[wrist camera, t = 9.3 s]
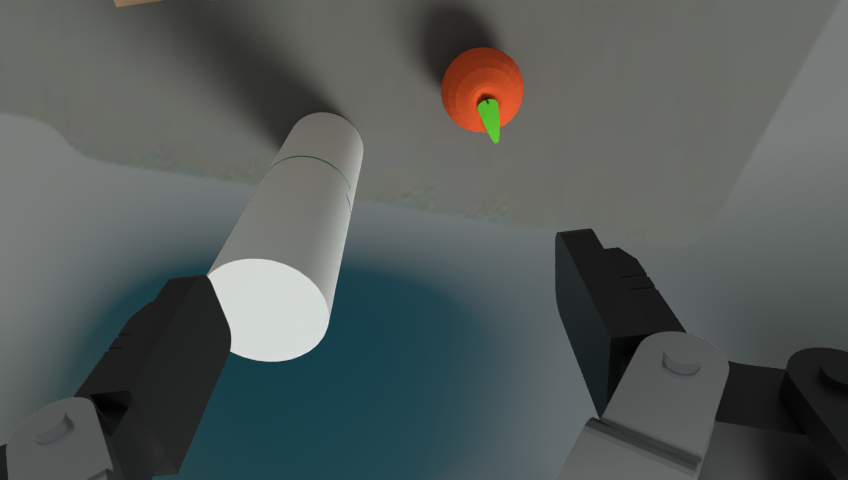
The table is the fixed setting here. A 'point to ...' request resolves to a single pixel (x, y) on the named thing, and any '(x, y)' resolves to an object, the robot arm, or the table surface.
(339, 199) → the cylindrical container
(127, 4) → the box
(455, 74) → the clementine
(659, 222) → the table surface
